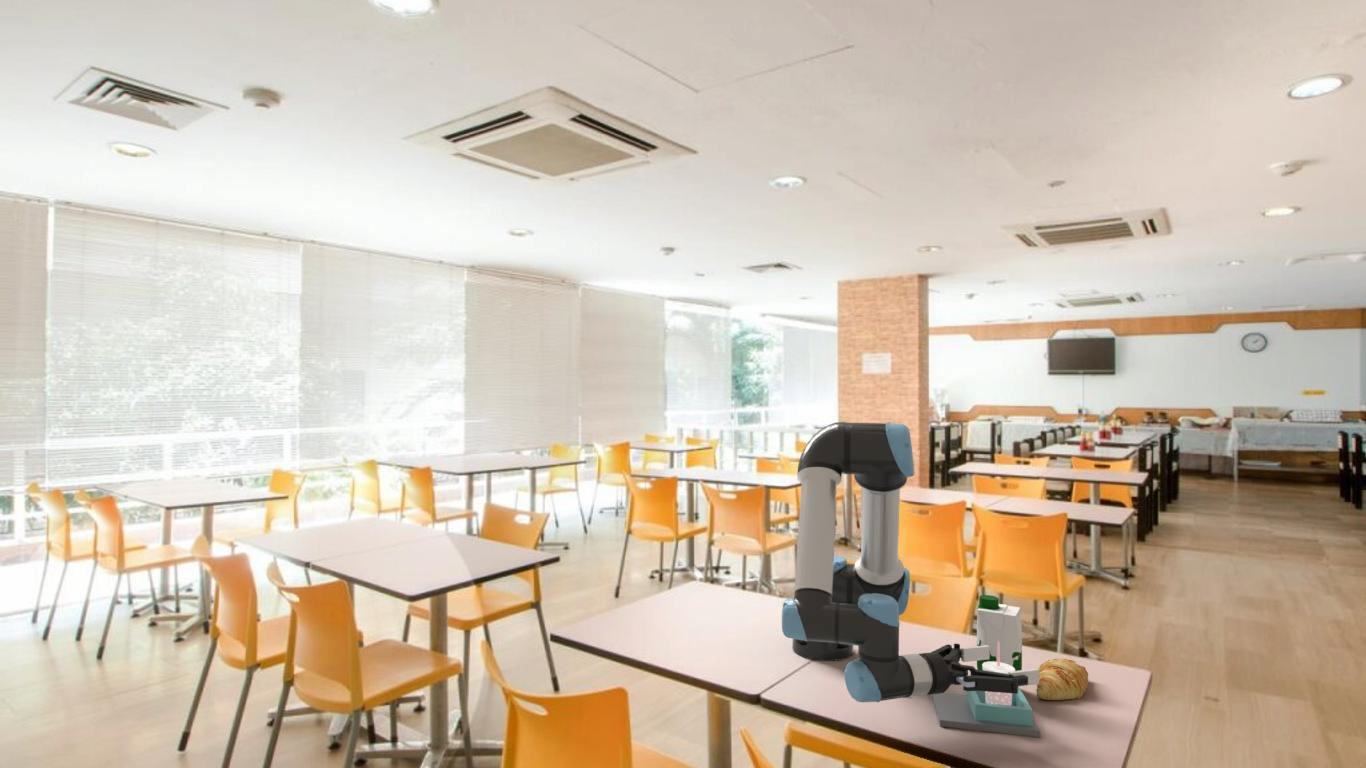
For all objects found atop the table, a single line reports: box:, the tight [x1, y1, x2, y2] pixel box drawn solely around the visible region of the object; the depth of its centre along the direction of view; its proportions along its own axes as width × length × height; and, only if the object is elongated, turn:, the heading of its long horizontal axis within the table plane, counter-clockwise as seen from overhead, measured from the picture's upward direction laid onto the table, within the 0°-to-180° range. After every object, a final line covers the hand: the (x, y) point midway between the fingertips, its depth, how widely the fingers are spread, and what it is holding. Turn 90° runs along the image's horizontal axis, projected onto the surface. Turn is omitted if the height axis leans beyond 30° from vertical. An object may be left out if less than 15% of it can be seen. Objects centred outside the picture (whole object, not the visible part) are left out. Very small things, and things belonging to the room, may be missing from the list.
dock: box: [931, 688, 1041, 738], centre depth 145 cm, size 18×14×4 cm
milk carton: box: [976, 594, 1023, 671], centre depth 158 cm, size 9×9×20 cm
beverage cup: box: [982, 642, 1015, 706], centre depth 144 cm, size 6×6×14 cm
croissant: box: [1035, 658, 1089, 701], centre depth 158 cm, size 21×10×8 cm, turn 130°
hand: (1011, 663), depth 145 cm, fingers open, 13 cm apart
